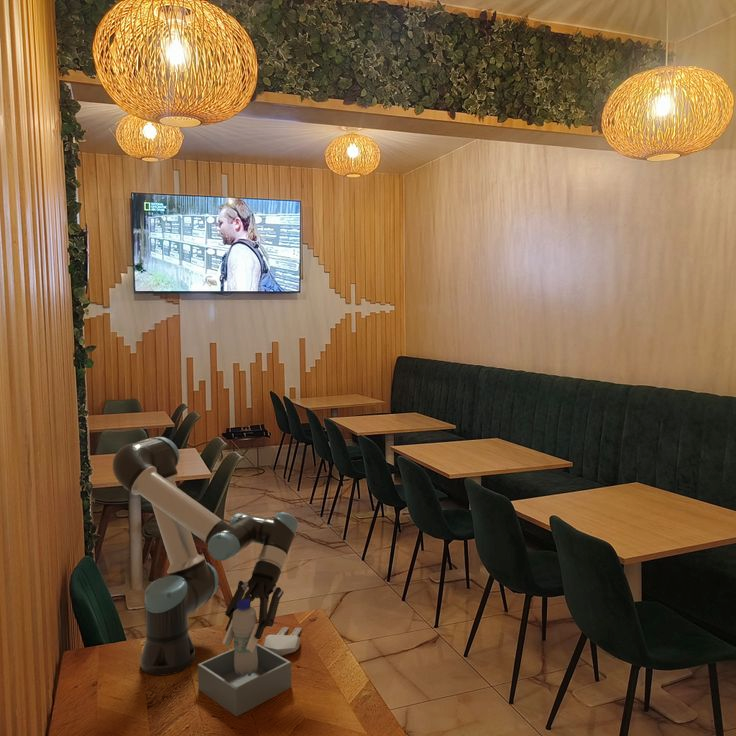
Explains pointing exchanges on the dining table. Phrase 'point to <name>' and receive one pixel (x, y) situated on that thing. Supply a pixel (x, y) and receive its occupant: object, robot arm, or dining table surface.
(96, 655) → the dining table surface
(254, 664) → the bottle
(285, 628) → the turret
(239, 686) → the tray
